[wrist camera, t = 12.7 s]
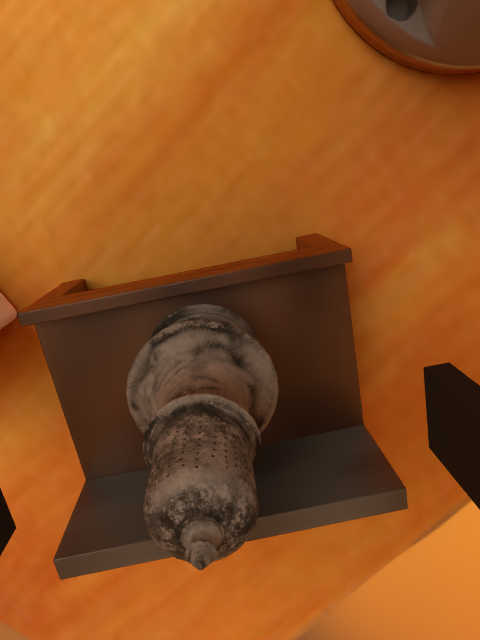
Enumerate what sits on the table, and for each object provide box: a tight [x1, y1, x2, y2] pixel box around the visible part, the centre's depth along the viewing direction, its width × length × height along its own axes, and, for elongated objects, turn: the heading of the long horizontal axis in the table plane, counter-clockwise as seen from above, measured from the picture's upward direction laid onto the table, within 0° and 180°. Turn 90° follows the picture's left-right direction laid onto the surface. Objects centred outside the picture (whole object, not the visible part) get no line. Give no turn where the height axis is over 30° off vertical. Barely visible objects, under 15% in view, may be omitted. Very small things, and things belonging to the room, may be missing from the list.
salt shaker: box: [126, 304, 279, 570], centre depth 15 cm, size 6×6×12 cm
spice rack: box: [17, 233, 408, 580], centre depth 21 cm, size 14×10×10 cm
